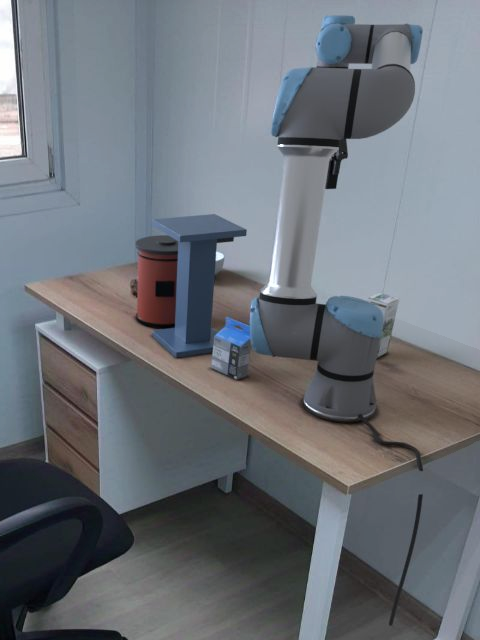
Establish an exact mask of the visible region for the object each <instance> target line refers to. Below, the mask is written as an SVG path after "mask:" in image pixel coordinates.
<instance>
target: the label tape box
mask: <svg viewBox="0 0 480 640" xmlns="http://www.w3.org/2000/svg"><path fill="white" fill-rule="evenodd" d="M237 326H238V327H239V328H237ZM217 332H218V333H217V334H216V335H215V336H214V345H213V353H212V356H211V367H210V368H211V369H212V370H215V371H216V372H219V373H220V374H223V375H226V376H228V377H230V378H233V379H234V380H241V379H244V378H247V377H248V371H249V364H250V363H249V361H250V354H251V347H252V345H251V339H250V325H248V324H246V323H243V322H241V321H238V320H236V319H234V318H232V317H231V318H230V317H228V316H225V326H224V327H223V328H222V329H220V330H219V331H217Z"/></svg>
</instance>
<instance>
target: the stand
mask: <svg viewBox="0 0 480 640" xmlns="http://www.w3.org/2000/svg"><path fill="white" fill-rule="evenodd" d="M151 226H152V227H153V228H155V229H157V230H159V231H160V232H162V233H164V234H165V235H169V236H170V237H172V238H173V239H175V240H177V241H178V265H177V289H176V313H175V328H168V329H161V328H160V329H154V330H152V333H151V335H152V337H153V338H154V339H155V340H156V341H157V342H158V343H159V344H160V345H161V346H162V347H164V348H165V350H167V351H168V352H169V353H170V354H171V355H172V356H174V358H176V359H178V358H185V357H191V356H199V355H205V354H206V355H207V354H213V345H214V336H215V335H216V334H217V333H218V332H219V331H218V330H216V329H215V328H214V327H212V323H213V322H212V320H213V308H214V307H213V305H214V290H215V277H216V274H215V263H216V251H217V246H218V243H217V239H221V238H231V237H234V238H240V237H246V236H247V231H248V229H246V228H245V227H243V226H241V225H239V224H236V223H234V222H232V221H230V220H228V219H226V218H224V217H222V216H220V215H218V214H216V213H209V214H199V215H189V216H177V217H176V216H175V217H165V218H154V219H151Z"/></svg>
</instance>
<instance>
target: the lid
mask: <svg viewBox="0 0 480 640" xmlns="http://www.w3.org/2000/svg"><path fill="white" fill-rule="evenodd" d="M234 241H235V237H231V238H221V239H217V244H221V243H230V242H231V243H233V242H234ZM135 249H137V251H138V250H139V251H142V252H145V253H149V254H156V255H178V241H177V240H175V239H173V238H172V237H170V236H169V235H167V234H165V235H164V234H162V235H161V234H160V235H149V236H145V237H141V238H139V239H137V240H136V241H135Z"/></svg>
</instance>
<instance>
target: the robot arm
mask: <svg viewBox="0 0 480 640" xmlns="http://www.w3.org/2000/svg"><path fill="white" fill-rule="evenodd" d="M423 31H424V29H423V27H422V25H419V24H411V23H404V24H369V23H368V24H367V23H366V24H365V23H364V24H363V23H362V24H360V23H359V24H356V18H355V17H354V16H353V15H345V14H342V15H341V14H340V15H339V14H338V15H337V14H336V15H335V14H333V15H332V14H331V15H326V16H324V17H323V19H322V23H321V28H320V32H319V34H318V36H317V37H316V41H315V43H316V44H315V51H316V56H317V59H316V67H315V66H310V67H299V68H298V67H297V68H292V69H289V70H288V71H287V72H286V73H285V74H284V76H283V78H282V80H281V84H280V86H279V89H278V92H277V97H276V101H275V104H274V110H273V114H272V120H271V127H270V135H271V136H272V137H274V138H277V144H276V147H277V148H278V150H279V152H280V153H281V154H282V156H283V161H282V169H281V177H280V186H279V194H278V202H277V210H276V219H275V225H274V226H275V227H274V235H273V243H272V252H271V258H270V267H269V273H268V274H269V275H268V281H267V283H266V284H265V285H264V286H263V287H262V288H260V290H259V296H257V297H254V298H252V300H251V302H250V314H249V326H250V339H251V348H252V350H253V351H254V352H255V353H256V354H258V355H262V356H263V355H264V356H270V357H272V358H276V357H278V358H288V359H297V360H304V361H305V360H307V361H315V362H317V365H316V371H315V372H314V375H313V377H312V379H311V380H310V382H309V384H308V386H307V389H306V390H305V392H304V395H303V399H302V405H303V407H304V409H305V410H306V411H307V412H308V413H310V414H311V415H312V416H315V417H317V418H320V419H322V420H325V421H330V422H336V423H345V424H346V423H349V424H350V423H358V422H363V423H364V424H365V425H366V427H368V429H369V430H371V432H372V433H373V437H374V440H375V442H377V443H378V444H380V445H383V446H384V445H385V446H393V447H403V448H407V449H409V450H410V451H412V452H414V454H415V457H416V464H417V469H418V471H419V472H424V468H423V464H422V463H423V462H422V457H421V453H420V451H419V449H418V448H416V447H415V446H413V445H411V444H409V443H406V442H403V441H387V440H383V439H381V438H379V433H378V430H377V429H376V428H375V427H374V426H373V425H372V423H370V421H368V420H369V419H371V418H372V417H373V416H374V415H375V413H376V409H377V396H376V390H375V384H374V372H375V368H376V364H377V363H376V362H377V359H378V358H377V352H378V347H379V342H380V337H382V334H383V332H382V327H383V320H384V317H383V313H382V311H381V310H380V309H379V308H378V307H377V306H375V305H374V304H372V303H370V302H368V301H367V300H365V299H363V298H359V297H354V296H348V295H334V296H331V297H329V298H328V299H327V300H326V302H325V304H324V303H317V299H318V294H317V292H316V291H315V290H314V288H313V287H312V279H313V274H314V273H313V272H314V266H315V259H316V251H317V245H318V238H319V232H320V225H321V217H322V211H323V205H324V204H323V203H324V196H325V190H336V189H337V185H338V179H339V175H340V170H341V169H340V168H341V165H342V164H341V163H342V161H343V160H345V159H346V160H347V159H348V157H349V151H348V141H347V140H362V139H368V138H371V137H374V136H377V135H379V134H381V133H383V132H385V131H387V130H389V129H391V128H392V127H393V126H395V125H396V124H397V123H399V122H400V121H401V120H402V119H403V118H404V117H405V116H406V114H407V113H408V111H409V110H410V108H411V106H412V104H413V102H414V98H415V95H416V82H415V78H414V75H413V74H412V72H411V65H414V64H416V63H417V62H418V59H419V55H420V51H421V45H422V40H423ZM350 64H353V65H354V64H357V65H359V64H361V65H362V64H364V65H371V68H349V65H350ZM376 358H377V359H376ZM417 497H418V498H417V504H416V511H415V518H414V519H415V520H414V523H413V524H414V525H413V529H412V535H411V538H410V543H409V547H408V551H407V556H406V559H405V563H404V566H403V569H402V573H401V577H400V581H399V584H398V587H397V591H396V594H395V598H394V602H393V605H392V610H391V613H390V617H389V620H388V621H389V622H388V626H393V624H394V622H395V621H394V620H395V617H396V612H397V609H398V605H399V601H400V598H401V594H402V590H403V587H404V585H405V581H406V577H407V573H408V569H409V567H410V563H411V559H412V555H413V553H414V552H413V551H414V548H415V544H416V540H417V535H418V530H419V526H420V525H419V524H420V520H421V513H422V505H423V497H424V494H423V493H419V494H418V495H417Z"/></svg>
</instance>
